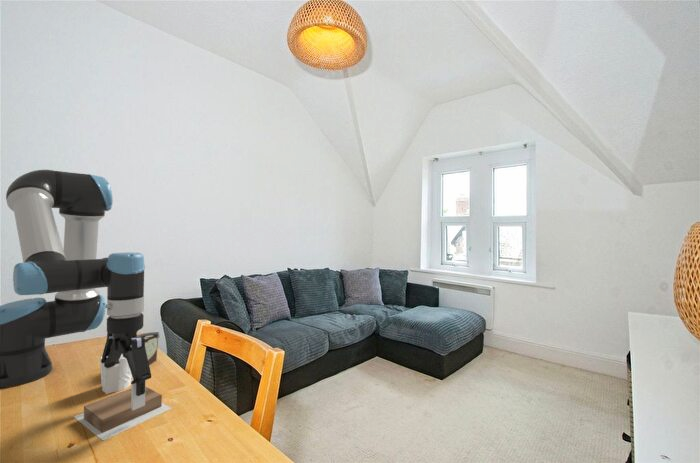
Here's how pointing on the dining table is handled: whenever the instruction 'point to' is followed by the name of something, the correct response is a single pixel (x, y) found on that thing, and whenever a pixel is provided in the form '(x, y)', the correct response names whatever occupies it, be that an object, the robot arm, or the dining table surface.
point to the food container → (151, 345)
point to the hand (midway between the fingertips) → (124, 399)
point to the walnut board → (119, 409)
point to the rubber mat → (123, 426)
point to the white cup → (123, 374)
